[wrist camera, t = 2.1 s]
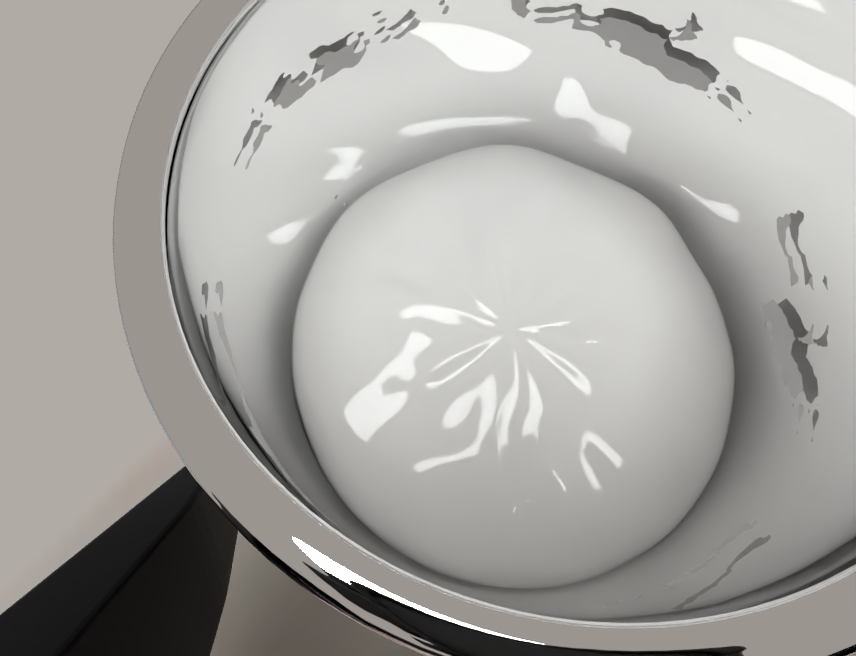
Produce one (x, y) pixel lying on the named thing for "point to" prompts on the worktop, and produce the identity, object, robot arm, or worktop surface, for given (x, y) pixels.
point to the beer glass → (513, 312)
